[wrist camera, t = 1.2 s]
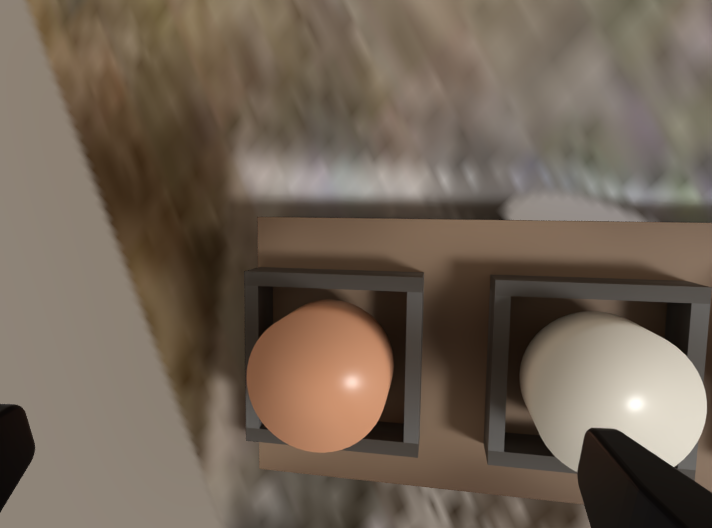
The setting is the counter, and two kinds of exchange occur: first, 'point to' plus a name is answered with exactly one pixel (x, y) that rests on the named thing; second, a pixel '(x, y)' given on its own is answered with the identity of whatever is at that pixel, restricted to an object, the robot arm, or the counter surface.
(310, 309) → the terracotta button
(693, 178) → the counter surface
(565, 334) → the cream button
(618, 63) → the counter surface
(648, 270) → the button board
